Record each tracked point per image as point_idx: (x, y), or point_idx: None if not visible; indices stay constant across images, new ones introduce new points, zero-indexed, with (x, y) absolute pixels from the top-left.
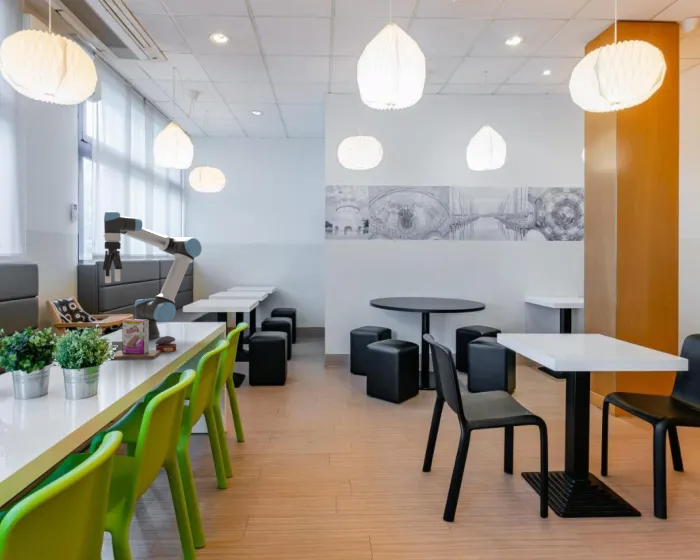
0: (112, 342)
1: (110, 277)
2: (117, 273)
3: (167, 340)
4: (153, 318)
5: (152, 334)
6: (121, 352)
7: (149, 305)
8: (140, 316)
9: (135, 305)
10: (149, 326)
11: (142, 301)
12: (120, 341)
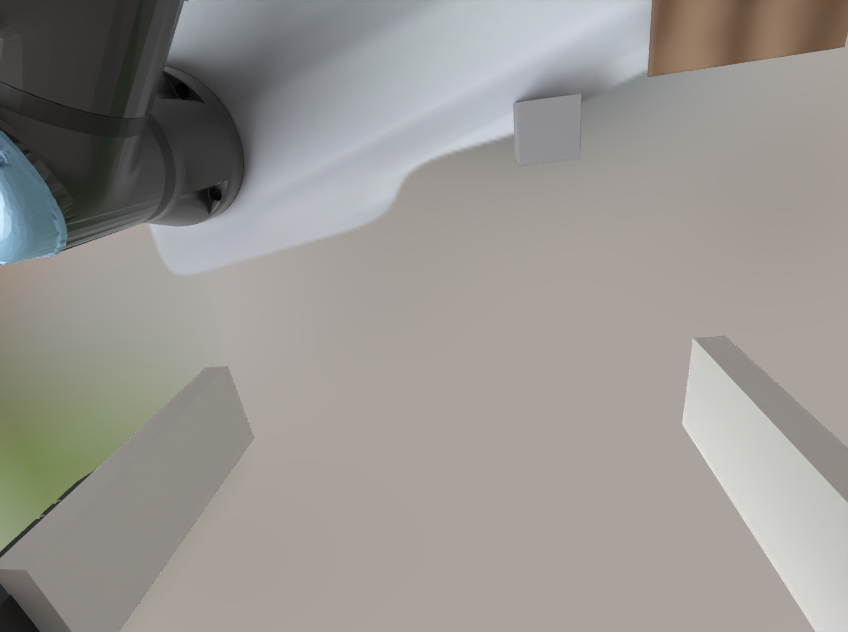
0: (579, 155)
1: (793, 404)
2: (147, 510)
3: None
4: (180, 13)
5: (187, 84)
6: (720, 27)
7: (70, 61)
8: (137, 172)
9: (61, 241)
10: (157, 105)
11: (21, 169)
12: (579, 106)
